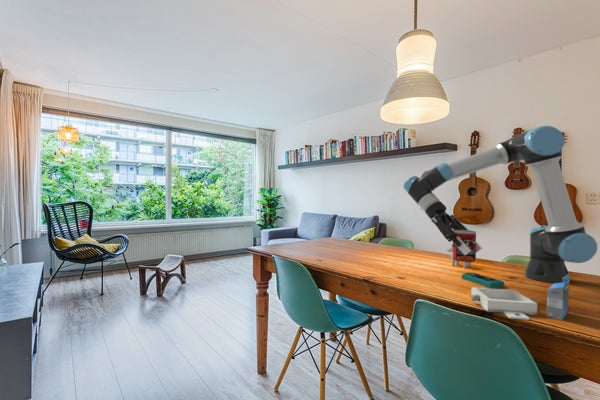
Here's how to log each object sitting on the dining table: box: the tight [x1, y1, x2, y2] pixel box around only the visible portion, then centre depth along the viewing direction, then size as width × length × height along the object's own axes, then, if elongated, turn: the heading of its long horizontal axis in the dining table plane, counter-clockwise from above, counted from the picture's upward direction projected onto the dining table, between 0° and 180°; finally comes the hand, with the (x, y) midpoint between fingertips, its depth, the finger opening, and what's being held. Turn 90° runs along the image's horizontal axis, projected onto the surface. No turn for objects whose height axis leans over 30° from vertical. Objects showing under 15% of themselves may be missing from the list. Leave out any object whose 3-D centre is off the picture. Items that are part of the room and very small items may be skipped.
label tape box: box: [545, 273, 570, 321], centre depth 89 cm, size 9×4×12 cm, turn 131°
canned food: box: [452, 229, 477, 263], centre depth 111 cm, size 8×8×11 cm
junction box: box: [470, 286, 538, 321], centre depth 96 cm, size 17×22×4 cm
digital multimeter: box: [461, 272, 505, 289], centre depth 123 cm, size 7×15×3 cm, turn 17°
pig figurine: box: [446, 243, 472, 269], centre depth 154 cm, size 5×13×11 cm, turn 28°
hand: (473, 251), depth 109 cm, fingers closed on canned food, 8 cm apart
